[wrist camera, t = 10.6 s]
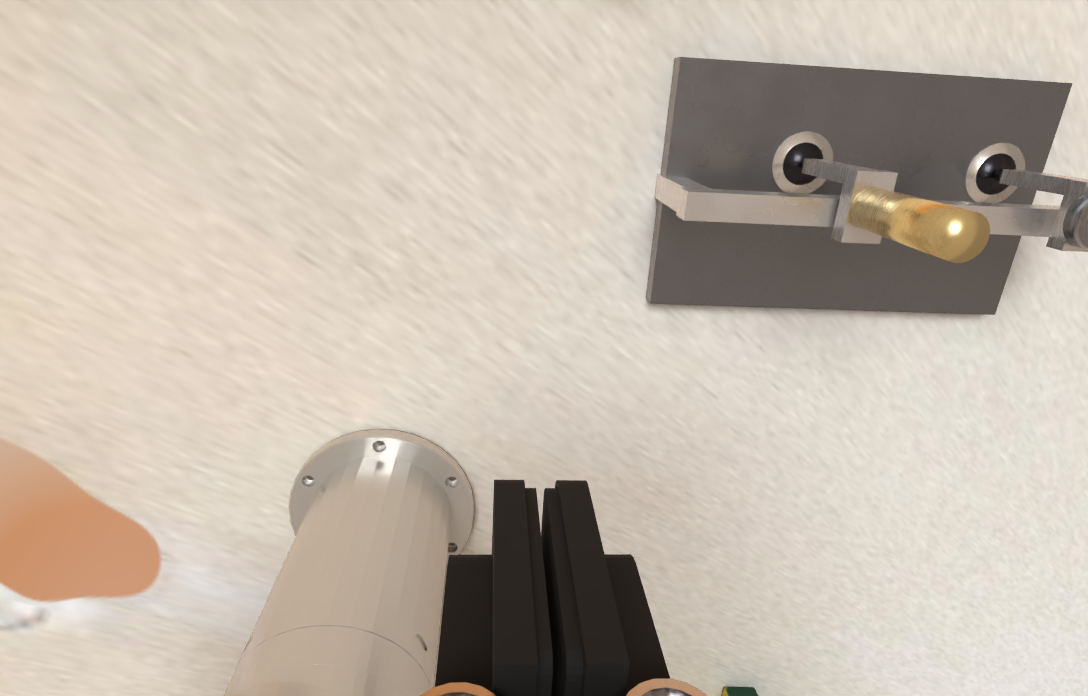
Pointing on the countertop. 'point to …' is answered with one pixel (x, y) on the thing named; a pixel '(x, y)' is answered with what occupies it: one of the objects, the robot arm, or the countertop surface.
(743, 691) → the crayon box
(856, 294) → the hole plate
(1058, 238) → the divider frame
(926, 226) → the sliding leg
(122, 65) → the countertop surface
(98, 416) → the countertop surface
